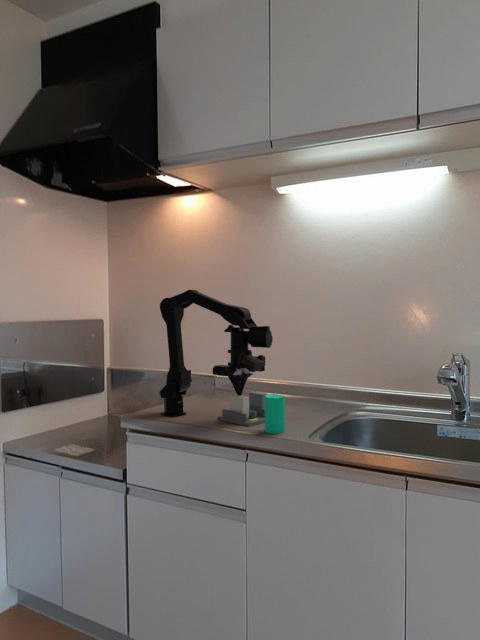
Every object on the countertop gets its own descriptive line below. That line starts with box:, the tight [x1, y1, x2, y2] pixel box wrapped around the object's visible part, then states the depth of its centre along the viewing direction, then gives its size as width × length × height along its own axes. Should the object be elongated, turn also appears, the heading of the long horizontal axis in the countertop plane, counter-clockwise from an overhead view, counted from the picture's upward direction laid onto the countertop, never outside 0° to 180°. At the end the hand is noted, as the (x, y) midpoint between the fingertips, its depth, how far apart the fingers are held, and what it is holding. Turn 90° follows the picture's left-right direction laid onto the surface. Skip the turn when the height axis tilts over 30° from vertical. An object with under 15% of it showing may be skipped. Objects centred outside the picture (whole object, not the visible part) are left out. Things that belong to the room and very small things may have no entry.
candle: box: [264, 393, 286, 434], centre depth 147 cm, size 6×6×12 cm
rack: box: [217, 391, 269, 427], centre depth 162 cm, size 14×15×8 cm
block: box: [229, 394, 249, 419], centre depth 159 cm, size 6×3×7 cm, turn 46°
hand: (239, 395), depth 159 cm, fingers closed
